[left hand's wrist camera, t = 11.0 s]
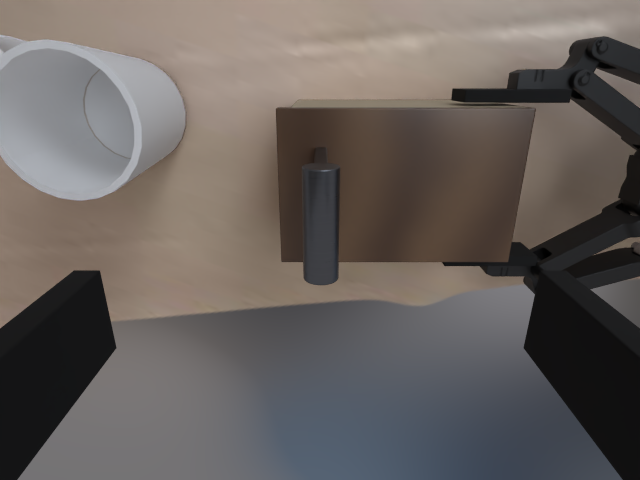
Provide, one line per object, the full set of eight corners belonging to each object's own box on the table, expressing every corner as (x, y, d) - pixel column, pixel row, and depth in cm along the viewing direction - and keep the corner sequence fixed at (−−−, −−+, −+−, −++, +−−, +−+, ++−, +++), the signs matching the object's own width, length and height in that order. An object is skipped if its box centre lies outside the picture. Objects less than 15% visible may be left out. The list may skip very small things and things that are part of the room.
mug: (215, 112, 33) (173, 126, 24) (148, 188, 36) (84, 229, 26) (101, 1, 31) (1, -35, 21) (35, 91, 33) (-82, 97, 23)
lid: (282, 257, 28) (268, 322, 21) (277, 107, 25) (258, 120, 17) (503, 257, 28) (569, 322, 21) (529, 107, 25) (621, 120, 17)
